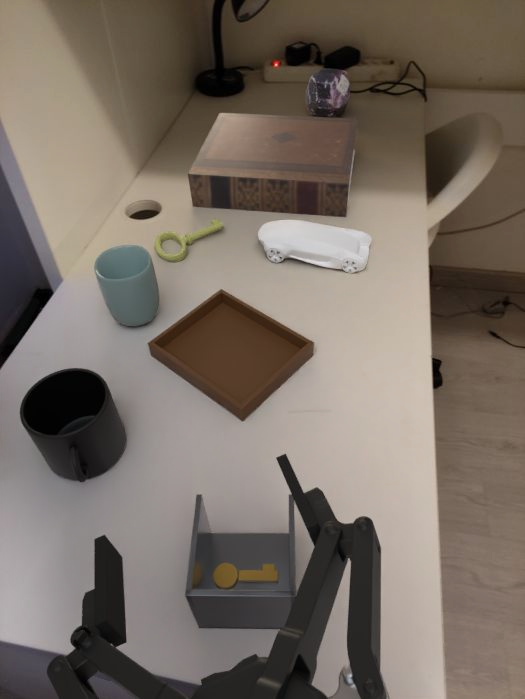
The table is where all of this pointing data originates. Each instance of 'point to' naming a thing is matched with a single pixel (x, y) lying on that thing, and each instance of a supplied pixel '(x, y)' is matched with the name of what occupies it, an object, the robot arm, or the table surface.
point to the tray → (232, 352)
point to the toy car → (316, 244)
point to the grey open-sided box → (245, 554)
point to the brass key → (243, 575)
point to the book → (275, 164)
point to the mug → (74, 423)
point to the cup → (128, 284)
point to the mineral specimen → (328, 92)
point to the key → (184, 240)
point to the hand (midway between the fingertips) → (198, 507)
